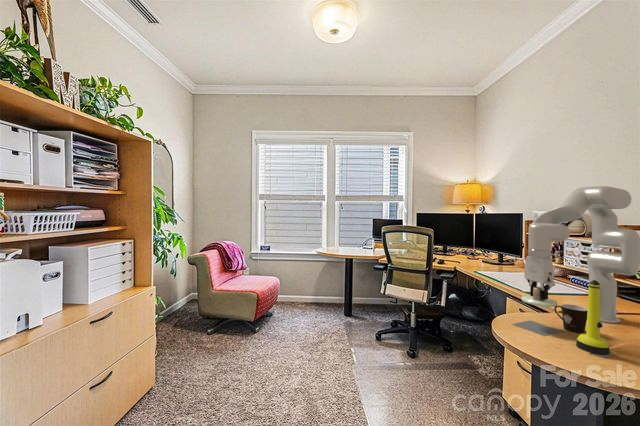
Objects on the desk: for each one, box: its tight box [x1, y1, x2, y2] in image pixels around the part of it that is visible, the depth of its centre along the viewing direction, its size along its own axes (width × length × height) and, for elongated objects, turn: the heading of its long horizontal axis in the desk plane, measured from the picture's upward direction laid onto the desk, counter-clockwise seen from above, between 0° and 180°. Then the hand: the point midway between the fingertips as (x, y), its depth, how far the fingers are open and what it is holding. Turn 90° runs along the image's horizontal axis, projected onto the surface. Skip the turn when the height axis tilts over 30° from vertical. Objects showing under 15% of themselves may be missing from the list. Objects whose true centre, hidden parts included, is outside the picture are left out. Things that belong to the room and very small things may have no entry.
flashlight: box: [575, 280, 611, 358], centre depth 105 cm, size 25×9×9 cm
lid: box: [521, 286, 558, 308], centre depth 124 cm, size 12×12×6 cm
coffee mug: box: [553, 303, 588, 335], centre depth 124 cm, size 12×9×10 cm
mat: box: [511, 320, 565, 337], centre depth 124 cm, size 13×13×1 cm
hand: (538, 297), depth 124 cm, fingers closed on lid, 4 cm apart
